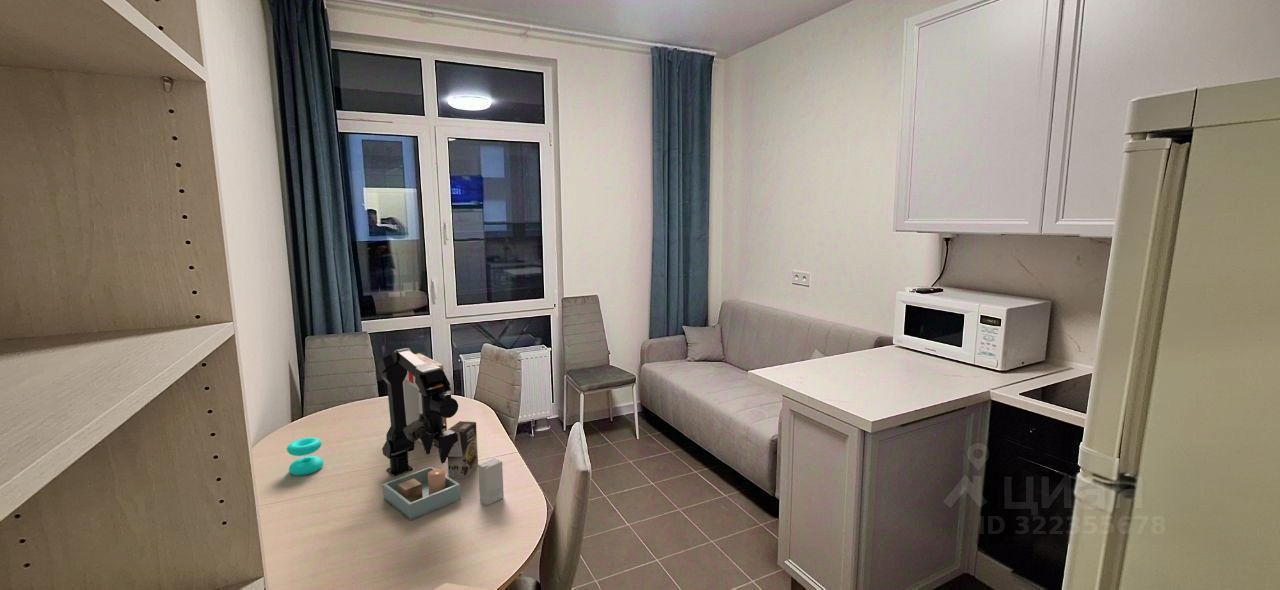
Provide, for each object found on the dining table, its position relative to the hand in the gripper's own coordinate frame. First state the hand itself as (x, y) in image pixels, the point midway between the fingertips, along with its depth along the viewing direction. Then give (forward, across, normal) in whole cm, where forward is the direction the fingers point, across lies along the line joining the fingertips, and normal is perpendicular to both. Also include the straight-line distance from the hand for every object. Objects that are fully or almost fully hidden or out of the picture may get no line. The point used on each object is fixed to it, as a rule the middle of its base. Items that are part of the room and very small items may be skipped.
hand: (435, 458), depth 165 cm
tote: (+12, -2, -4) cm, 13 cm away
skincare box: (+13, +14, +10) cm, 21 cm away
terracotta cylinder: (+12, 0, 0) cm, 12 cm away
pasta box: (+13, -48, +20) cm, 54 cm away
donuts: (+13, -50, -21) cm, 56 cm away
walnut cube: (+12, -3, -7) cm, 14 cm away
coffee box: (+13, -9, +14) cm, 21 cm away
